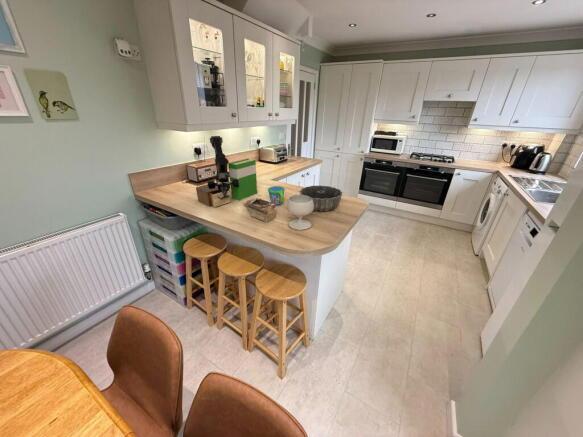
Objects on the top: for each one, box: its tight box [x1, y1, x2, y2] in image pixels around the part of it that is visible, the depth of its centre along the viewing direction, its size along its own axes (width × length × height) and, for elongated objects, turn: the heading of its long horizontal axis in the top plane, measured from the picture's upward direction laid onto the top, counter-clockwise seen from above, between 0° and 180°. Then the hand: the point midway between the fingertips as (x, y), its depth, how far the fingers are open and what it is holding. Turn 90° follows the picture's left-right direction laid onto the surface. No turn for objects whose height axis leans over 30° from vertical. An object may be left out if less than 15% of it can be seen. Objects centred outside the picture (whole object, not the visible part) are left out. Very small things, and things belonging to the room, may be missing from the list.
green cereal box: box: [227, 158, 258, 201], centre depth 160 cm, size 18×7×24 cm, turn 145°
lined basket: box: [242, 197, 277, 223], centre depth 131 cm, size 13×20×10 cm, turn 43°
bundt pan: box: [299, 184, 344, 212], centre depth 145 cm, size 26×26×10 cm
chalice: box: [286, 194, 314, 231], centre depth 121 cm, size 14×14×15 cm
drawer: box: [209, 190, 231, 208], centre depth 149 cm, size 18×11×8 cm, turn 48°
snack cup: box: [267, 185, 286, 206], centre depth 150 cm, size 16×10×10 cm
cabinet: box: [195, 184, 225, 207], centre depth 154 cm, size 15×13×10 cm
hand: (224, 196), depth 142 cm, fingers closed, pressing on drawer
